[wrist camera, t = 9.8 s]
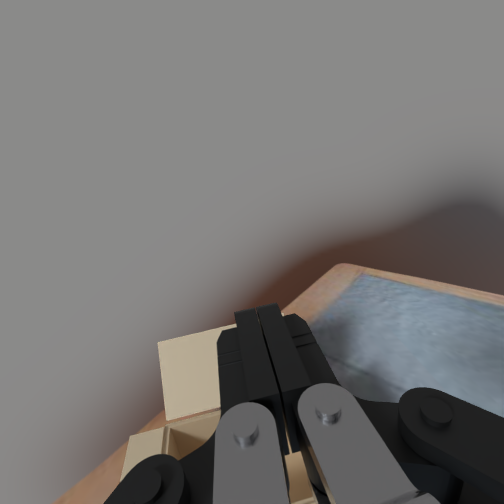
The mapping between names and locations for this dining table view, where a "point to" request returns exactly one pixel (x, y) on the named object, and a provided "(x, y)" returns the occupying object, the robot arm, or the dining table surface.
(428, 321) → the dining table surface
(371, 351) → the dining table surface
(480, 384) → the dining table surface
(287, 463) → the carton
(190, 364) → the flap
